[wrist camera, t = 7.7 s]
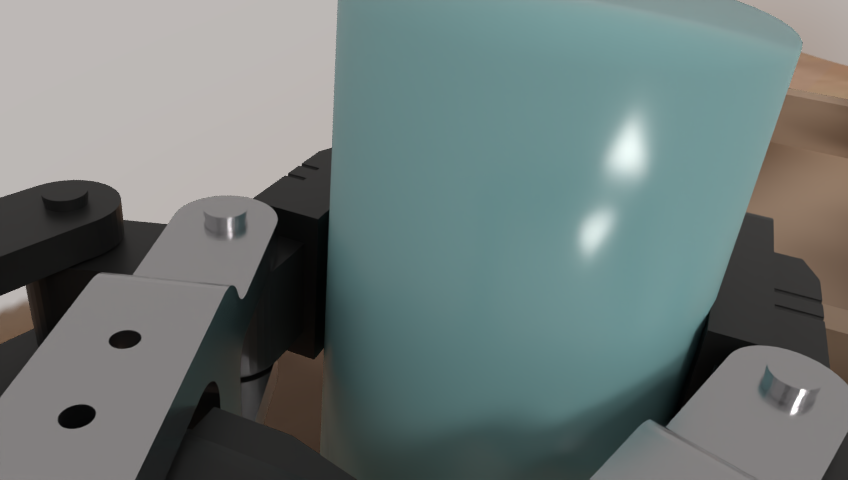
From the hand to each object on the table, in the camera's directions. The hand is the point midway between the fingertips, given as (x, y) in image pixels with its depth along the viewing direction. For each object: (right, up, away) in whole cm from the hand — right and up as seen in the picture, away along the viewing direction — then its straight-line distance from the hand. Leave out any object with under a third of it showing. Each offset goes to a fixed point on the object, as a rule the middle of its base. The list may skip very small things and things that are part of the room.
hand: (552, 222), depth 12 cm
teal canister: (-1, -6, +1) cm, 7 cm away
